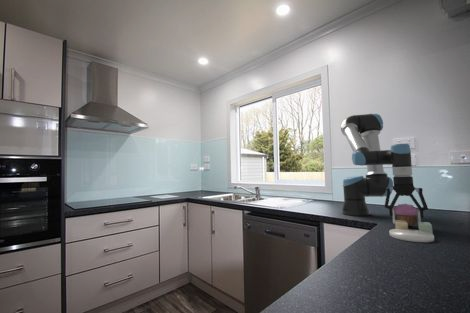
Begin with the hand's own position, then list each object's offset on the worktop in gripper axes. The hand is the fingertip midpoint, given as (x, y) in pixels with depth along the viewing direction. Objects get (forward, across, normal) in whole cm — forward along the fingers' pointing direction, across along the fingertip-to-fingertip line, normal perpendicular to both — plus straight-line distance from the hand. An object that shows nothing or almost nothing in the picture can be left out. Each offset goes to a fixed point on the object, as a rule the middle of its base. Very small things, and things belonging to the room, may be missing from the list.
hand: (406, 224), depth 106 cm
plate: (+1, -1, -20) cm, 20 cm away
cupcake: (+1, 0, 0) cm, 1 cm away
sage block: (+1, +5, -10) cm, 12 cm away
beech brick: (+1, -3, -10) cm, 11 cm away
